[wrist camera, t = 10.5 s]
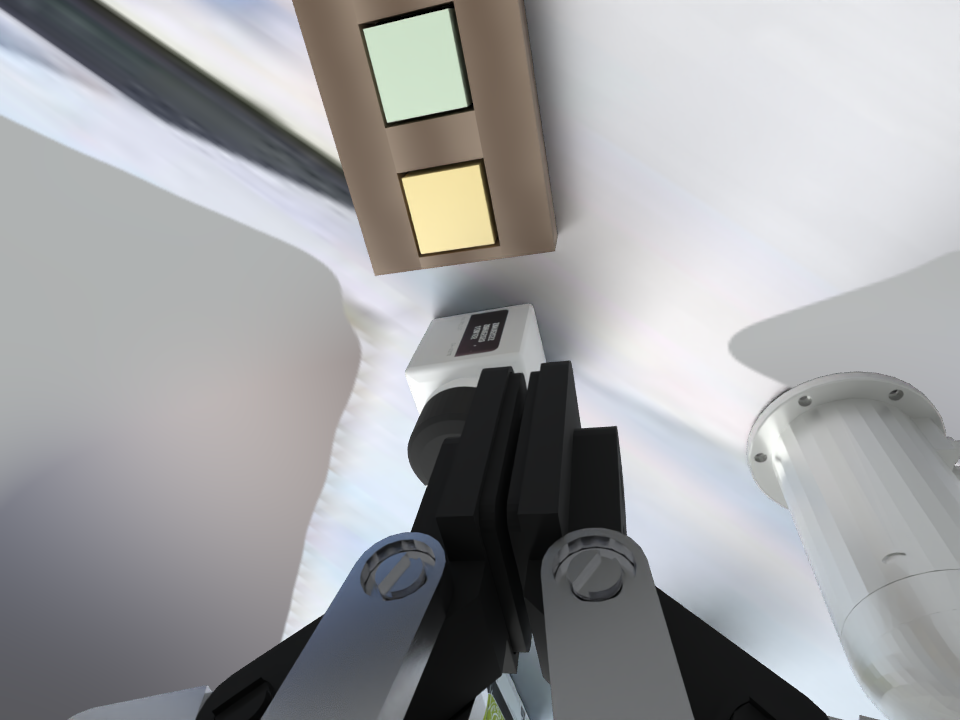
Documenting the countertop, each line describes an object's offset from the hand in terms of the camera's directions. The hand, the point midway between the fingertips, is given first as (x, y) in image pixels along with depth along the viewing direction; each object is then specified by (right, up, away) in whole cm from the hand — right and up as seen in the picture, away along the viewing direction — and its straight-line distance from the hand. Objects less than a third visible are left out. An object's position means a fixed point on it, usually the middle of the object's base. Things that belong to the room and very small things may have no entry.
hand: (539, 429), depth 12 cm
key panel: (-4, +19, +24) cm, 31 cm away
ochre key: (-3, +12, +27) cm, 30 cm away
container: (0, +2, +33) cm, 33 cm away
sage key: (-4, +19, +24) cm, 30 cm away
